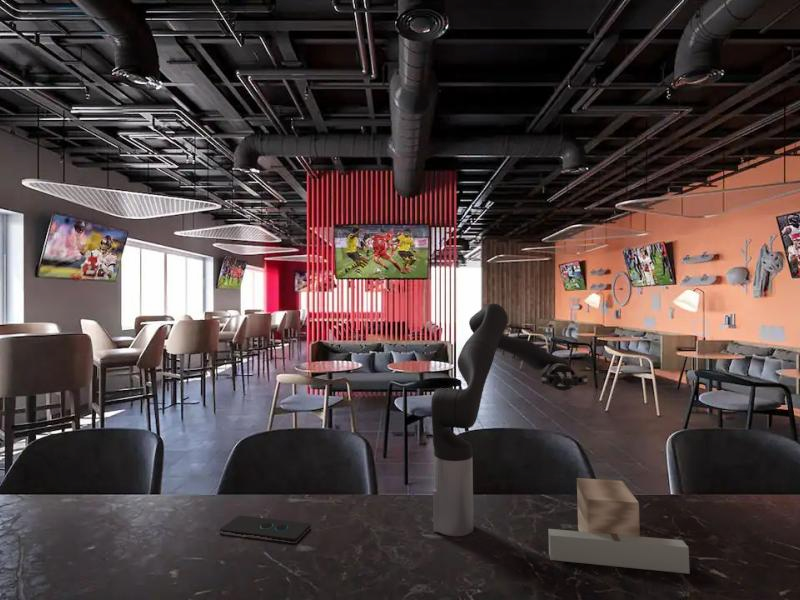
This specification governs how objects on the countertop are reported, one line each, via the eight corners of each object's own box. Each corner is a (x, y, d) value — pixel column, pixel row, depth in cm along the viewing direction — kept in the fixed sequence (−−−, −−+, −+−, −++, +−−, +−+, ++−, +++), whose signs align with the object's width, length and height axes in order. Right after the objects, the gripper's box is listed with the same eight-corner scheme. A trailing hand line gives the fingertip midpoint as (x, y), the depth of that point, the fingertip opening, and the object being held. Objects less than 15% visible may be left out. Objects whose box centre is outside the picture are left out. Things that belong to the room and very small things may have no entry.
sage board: (550, 559, 93) (549, 534, 93) (548, 552, 96) (548, 528, 96) (689, 573, 88) (688, 546, 88) (683, 565, 91) (682, 539, 91)
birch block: (589, 556, 94) (587, 498, 95) (578, 529, 107) (576, 478, 108) (640, 561, 92) (638, 502, 93) (623, 532, 105) (621, 480, 105)
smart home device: (295, 538, 101) (218, 528, 106) (295, 546, 101) (218, 536, 106) (311, 522, 109) (239, 514, 114) (311, 529, 109) (239, 521, 114)
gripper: (537, 363, 138) (541, 367, 121) (583, 364, 135) (594, 368, 118) (538, 388, 138) (542, 395, 121) (584, 389, 134) (595, 397, 118)
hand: (568, 382), depth 119 cm, fingers closed
